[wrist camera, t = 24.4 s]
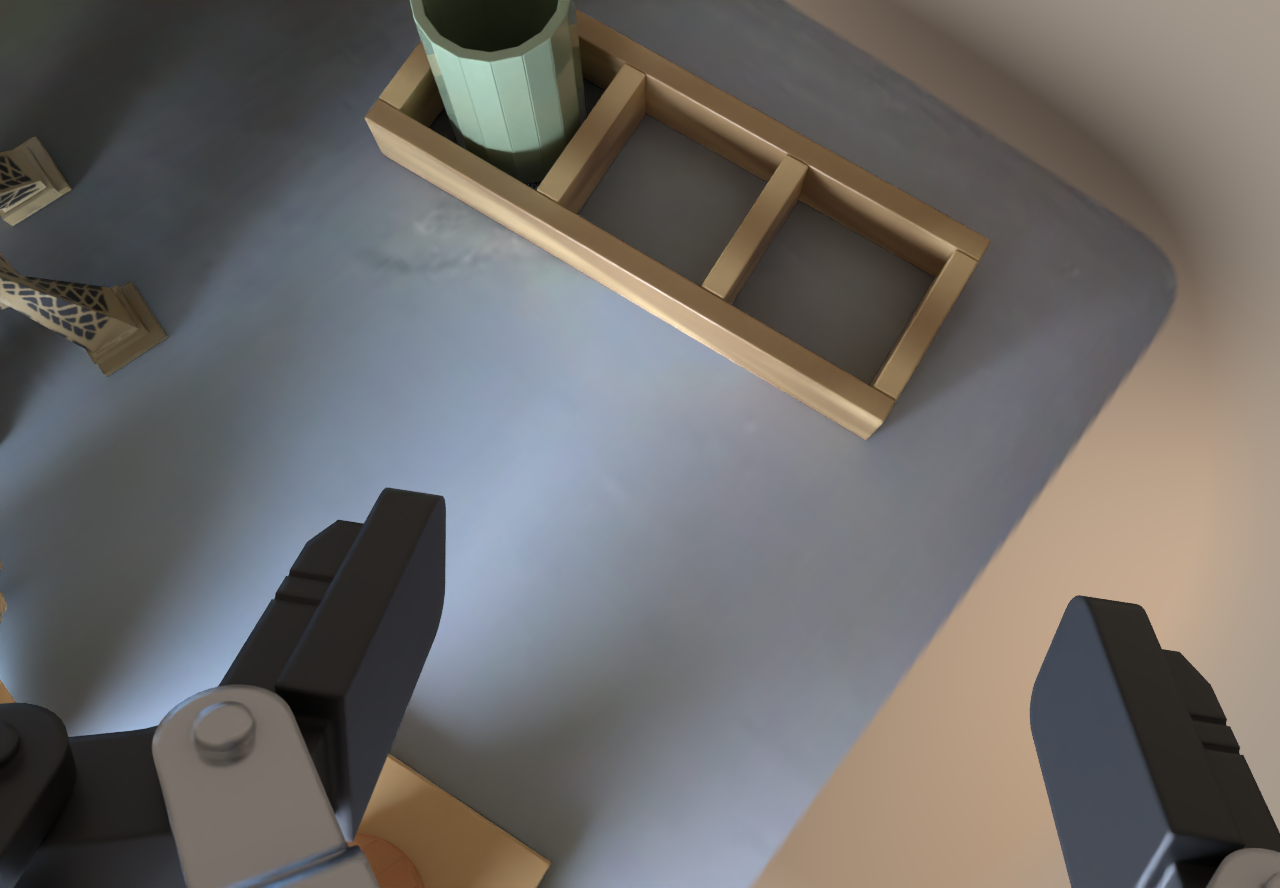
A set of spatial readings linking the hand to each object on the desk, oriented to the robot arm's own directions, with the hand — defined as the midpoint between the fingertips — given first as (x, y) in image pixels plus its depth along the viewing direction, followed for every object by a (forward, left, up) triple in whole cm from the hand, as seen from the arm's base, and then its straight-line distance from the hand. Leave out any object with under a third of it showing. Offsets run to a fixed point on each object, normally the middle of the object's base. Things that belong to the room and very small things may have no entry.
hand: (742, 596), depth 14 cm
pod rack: (+9, -15, -27) cm, 32 cm away
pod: (+17, -15, -27) cm, 35 cm away
